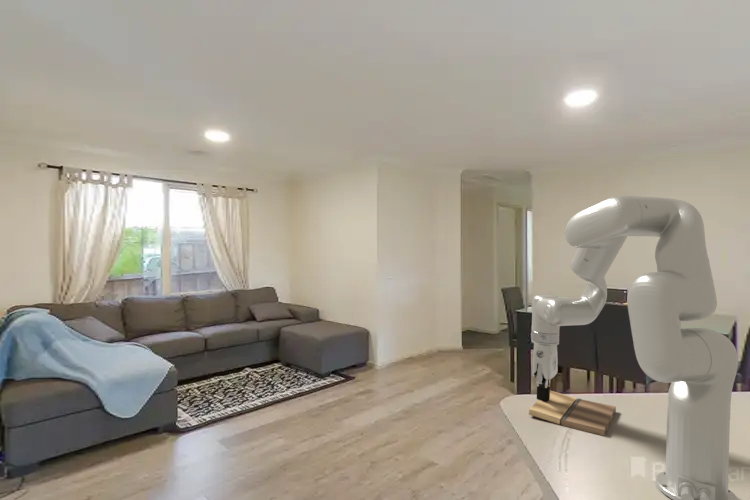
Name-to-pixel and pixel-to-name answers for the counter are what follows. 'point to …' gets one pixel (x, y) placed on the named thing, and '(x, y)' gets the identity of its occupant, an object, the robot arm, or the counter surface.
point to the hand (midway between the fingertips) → (543, 399)
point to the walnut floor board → (589, 416)
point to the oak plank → (553, 407)
